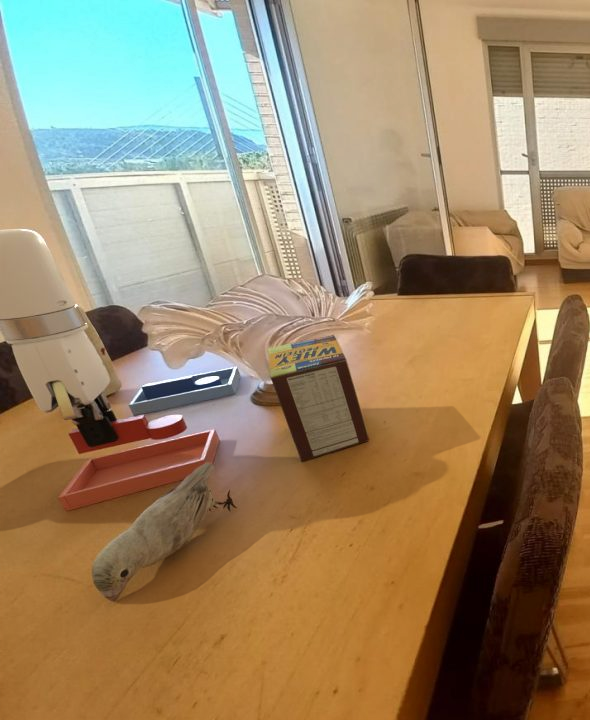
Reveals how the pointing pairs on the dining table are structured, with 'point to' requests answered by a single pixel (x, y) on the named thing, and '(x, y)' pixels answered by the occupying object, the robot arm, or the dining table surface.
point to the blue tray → (189, 393)
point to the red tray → (139, 469)
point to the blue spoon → (178, 386)
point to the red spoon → (134, 431)
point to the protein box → (317, 396)
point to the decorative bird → (155, 533)
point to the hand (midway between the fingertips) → (106, 439)
